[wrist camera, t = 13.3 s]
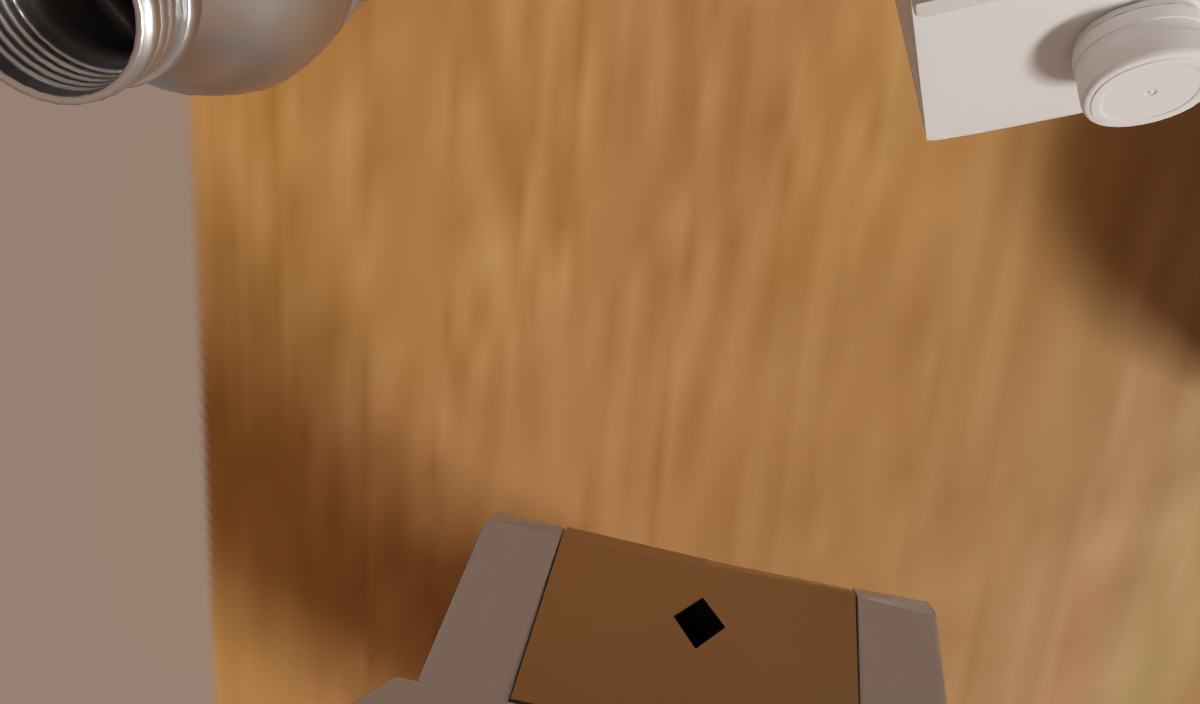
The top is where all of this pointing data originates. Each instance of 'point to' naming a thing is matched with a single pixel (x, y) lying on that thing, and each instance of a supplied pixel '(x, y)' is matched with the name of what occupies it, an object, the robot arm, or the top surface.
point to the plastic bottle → (161, 45)
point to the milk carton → (1050, 61)
